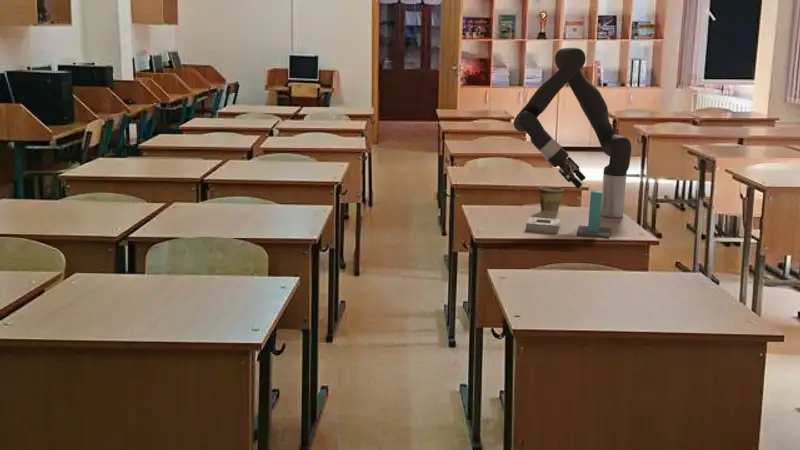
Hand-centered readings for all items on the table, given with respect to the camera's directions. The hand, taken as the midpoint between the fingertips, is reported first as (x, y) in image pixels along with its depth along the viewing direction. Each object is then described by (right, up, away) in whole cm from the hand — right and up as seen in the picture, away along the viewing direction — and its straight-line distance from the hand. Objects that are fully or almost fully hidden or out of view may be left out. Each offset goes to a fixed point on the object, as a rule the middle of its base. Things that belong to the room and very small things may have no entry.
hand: (582, 183), depth 362 cm
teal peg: (+3, -18, -8) cm, 20 cm away
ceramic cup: (-8, -11, +29) cm, 32 cm away
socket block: (-16, -18, -4) cm, 24 cm away
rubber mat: (+3, -19, -8) cm, 21 cm away
